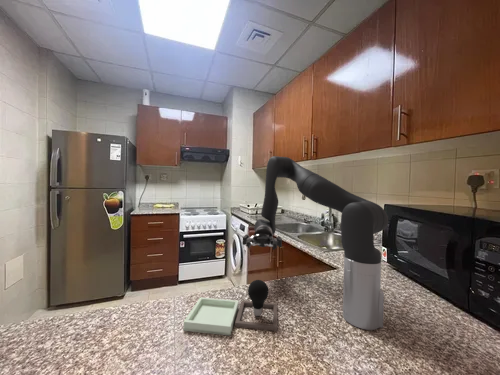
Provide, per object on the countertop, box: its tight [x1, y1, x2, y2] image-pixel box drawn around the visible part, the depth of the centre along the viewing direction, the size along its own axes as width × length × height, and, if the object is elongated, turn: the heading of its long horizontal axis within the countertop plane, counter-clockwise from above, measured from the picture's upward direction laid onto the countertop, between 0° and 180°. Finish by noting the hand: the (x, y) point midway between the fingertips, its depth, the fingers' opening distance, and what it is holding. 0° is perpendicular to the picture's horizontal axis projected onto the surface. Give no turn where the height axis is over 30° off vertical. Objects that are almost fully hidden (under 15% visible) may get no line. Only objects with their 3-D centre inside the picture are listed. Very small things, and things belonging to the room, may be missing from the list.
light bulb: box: [247, 279, 269, 317], centre depth 59 cm, size 6×6×10 cm
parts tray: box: [183, 296, 240, 336], centre depth 57 cm, size 12×12×2 cm
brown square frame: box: [234, 300, 278, 332], centre depth 59 cm, size 11×11×1 cm
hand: (261, 245), depth 70 cm, fingers open, 8 cm apart
